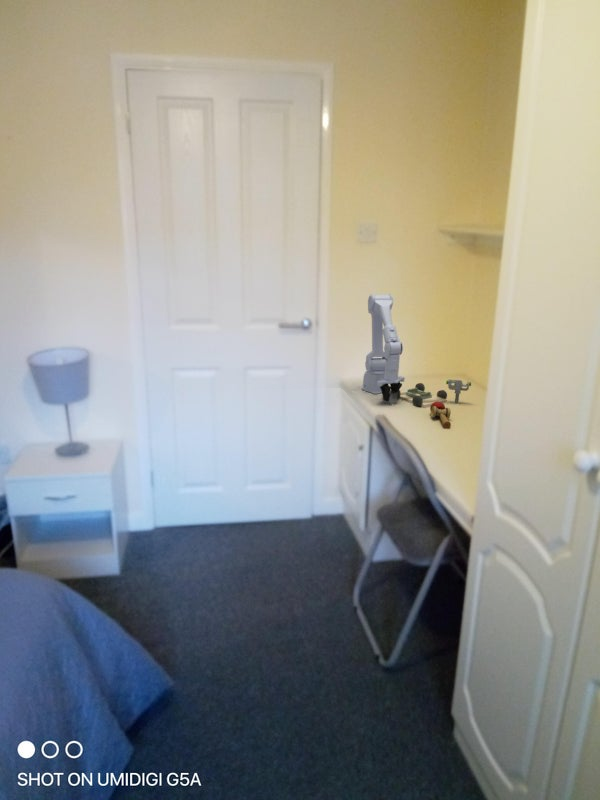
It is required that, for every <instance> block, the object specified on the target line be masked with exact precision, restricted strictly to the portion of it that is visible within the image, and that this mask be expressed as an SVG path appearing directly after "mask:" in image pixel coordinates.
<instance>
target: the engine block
mask: <svg viewBox="0 0 600 800" xmlns="http://www.w3.org/2000/svg"><path fill="white" fill-rule="evenodd" d="M381 394H382V393H381ZM397 394H398V393H397V392H395V391H392V390H390V393H389V399H388V401H385V400H384V399H383V394H382V395H381V396H382V397H381V403H383V402H384V403H383V404H386V403H387V404H386V405H388V404H389V406H393V405H397V404H398V398H397ZM396 403H397V404H396ZM392 404H393V405H392Z"/></svg>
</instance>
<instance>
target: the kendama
mask: <svg viewBox="0 0 600 800" xmlns="http://www.w3.org/2000/svg"><path fill="white" fill-rule="evenodd" d="M429 410H430V416H431V417H432V418H436V417H439V419H440V421H441V424H442V426H443V428H444V429H449V428H451V427H452V424H451V421H449V419H450V417H451V407H446V406H445V403H442V402H439V401H436V402H434V403H432V405H431V406H430V407H429Z"/></svg>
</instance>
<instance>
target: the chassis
mask: <svg viewBox="0 0 600 800" xmlns="http://www.w3.org/2000/svg"><path fill="white" fill-rule="evenodd" d="M425 390H426V387H425V384H423V383H422V382H420V383H417V384H415V386H414V387H413V388H409V389H405V390H400V389H399V391H398V394H397V399H399V400H401V399H402V401H404V400H405V401H404V402H407V401H408V403H410V402H411V403H410V404H413V406H414V407H422V408H423V409H425V408H430V407H431V405H432V403H434V402H436V401H439V402H442V403H443V404H445V402H446V403H447V402H448V401H447V398H448V393H447V391H446V390H444V389H441V390H438V391H437V392H436V395H433V394H432V393H431V392H430V391H428V392H426V391H425Z"/></svg>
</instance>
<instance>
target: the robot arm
mask: <svg viewBox="0 0 600 800" xmlns="http://www.w3.org/2000/svg"><path fill="white" fill-rule="evenodd" d="M393 305H394V297H393V295H392V294H391V293H389V294H373V293H371V294H370V295H369V296H368V299H367V310H368V313H369V314H370V315H371V347H372V348H371V351H370V352H369V353H367V355H366V356H365V363H364V364H365V370H366V371H365V372H364V374H363V378H362V380H363V383H362V387H361V390H363V391H366V392H369V393H371V394H373V395H377V394H378V395H379V394H383V399H384V400H385V401H388V399H389V393H390V390H392V391H395V392H397V393H398V391H399V390H400V389H401V388H402V387H403V382H405V380H406V379H405V378H406V377H405V376H401V375H400V376H399V369H400V356H401V355H402V353H403V351H404V350H403V348H404V347H403V342H402V341H401V339H399V336H398V332H397V328H396V326H394V325H393V319H392V312H391V311H392V309H393Z"/></svg>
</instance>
